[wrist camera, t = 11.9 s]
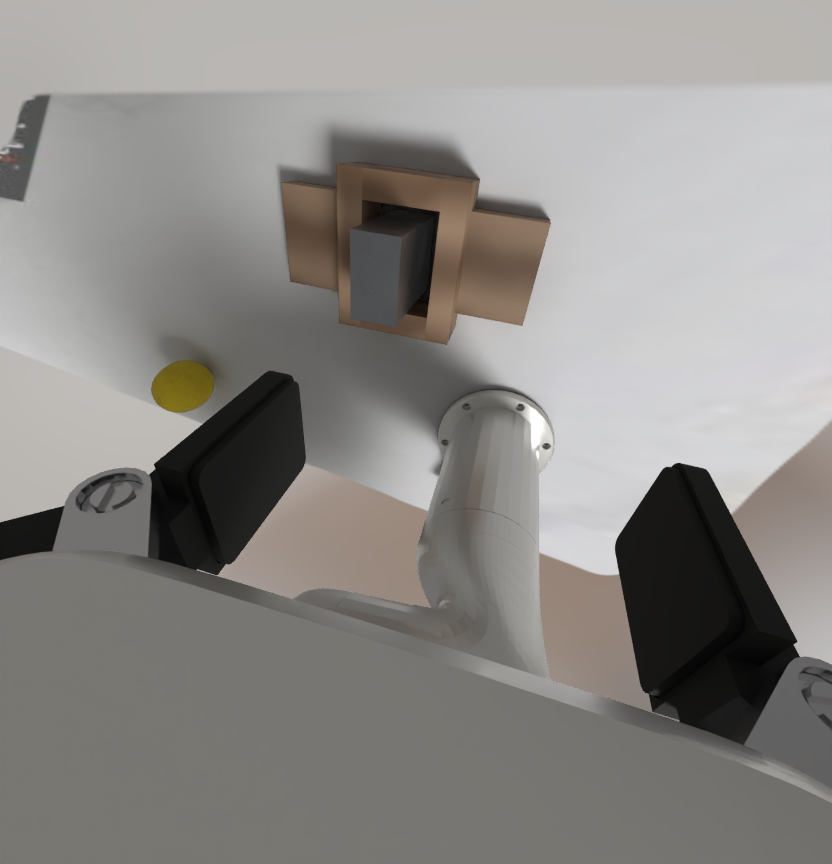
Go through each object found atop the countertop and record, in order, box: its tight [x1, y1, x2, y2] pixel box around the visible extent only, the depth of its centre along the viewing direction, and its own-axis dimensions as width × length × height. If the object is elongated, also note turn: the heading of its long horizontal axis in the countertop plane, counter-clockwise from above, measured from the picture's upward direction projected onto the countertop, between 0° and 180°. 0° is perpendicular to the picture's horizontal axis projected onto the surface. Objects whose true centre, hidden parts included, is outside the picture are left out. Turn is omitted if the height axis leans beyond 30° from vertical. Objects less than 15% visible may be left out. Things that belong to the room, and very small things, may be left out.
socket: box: [281, 162, 551, 345], centre depth 33 cm, size 12×22×4 cm, turn 84°
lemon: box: [151, 360, 214, 412], centre depth 46 cm, size 6×6×8 cm
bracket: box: [350, 210, 435, 327], centre depth 31 cm, size 6×4×10 cm, turn 174°
